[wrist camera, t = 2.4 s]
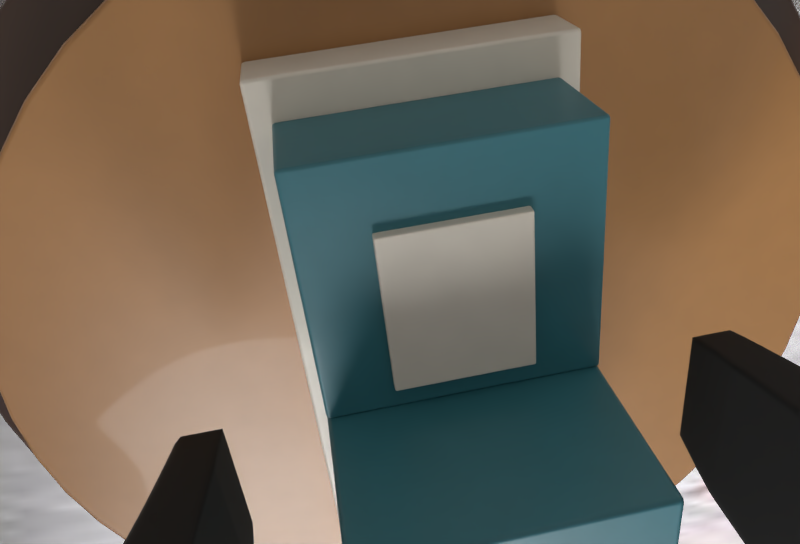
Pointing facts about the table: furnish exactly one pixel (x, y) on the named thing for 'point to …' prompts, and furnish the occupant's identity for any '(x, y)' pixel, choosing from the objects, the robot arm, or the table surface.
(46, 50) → the display base
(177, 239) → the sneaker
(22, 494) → the table surface
